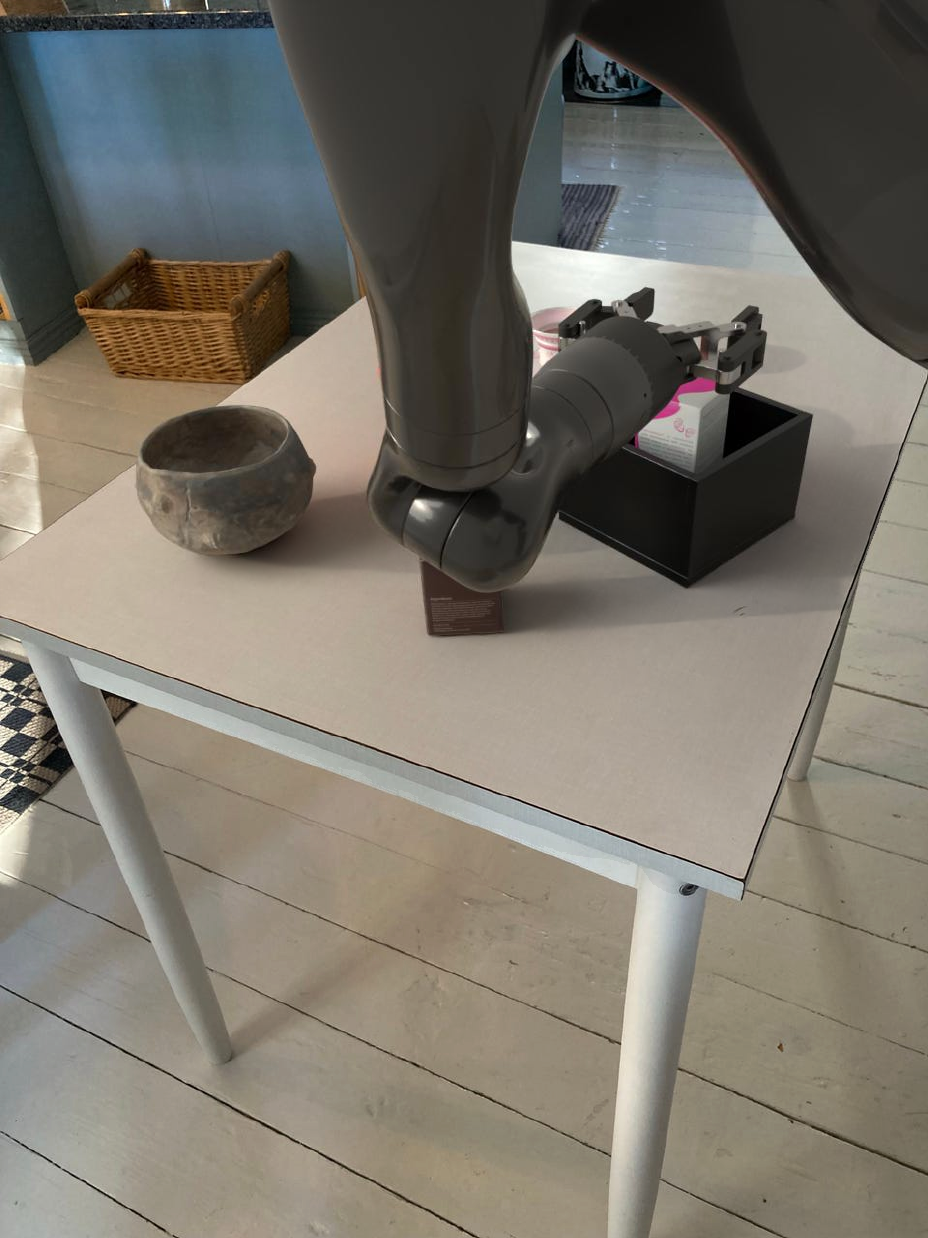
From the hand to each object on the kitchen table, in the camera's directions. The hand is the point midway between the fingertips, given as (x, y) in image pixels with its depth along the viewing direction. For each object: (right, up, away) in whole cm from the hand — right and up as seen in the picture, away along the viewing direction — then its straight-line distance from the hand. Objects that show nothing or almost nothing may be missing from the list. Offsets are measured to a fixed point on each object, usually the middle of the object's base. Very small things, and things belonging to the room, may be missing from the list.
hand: (700, 308), depth 77 cm
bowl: (-38, -16, +14) cm, 44 cm away
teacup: (-7, +4, +35) cm, 36 cm away
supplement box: (0, -14, +11) cm, 18 cm away
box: (-18, -24, +3) cm, 30 cm away
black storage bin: (+1, -15, +11) cm, 19 cm away
